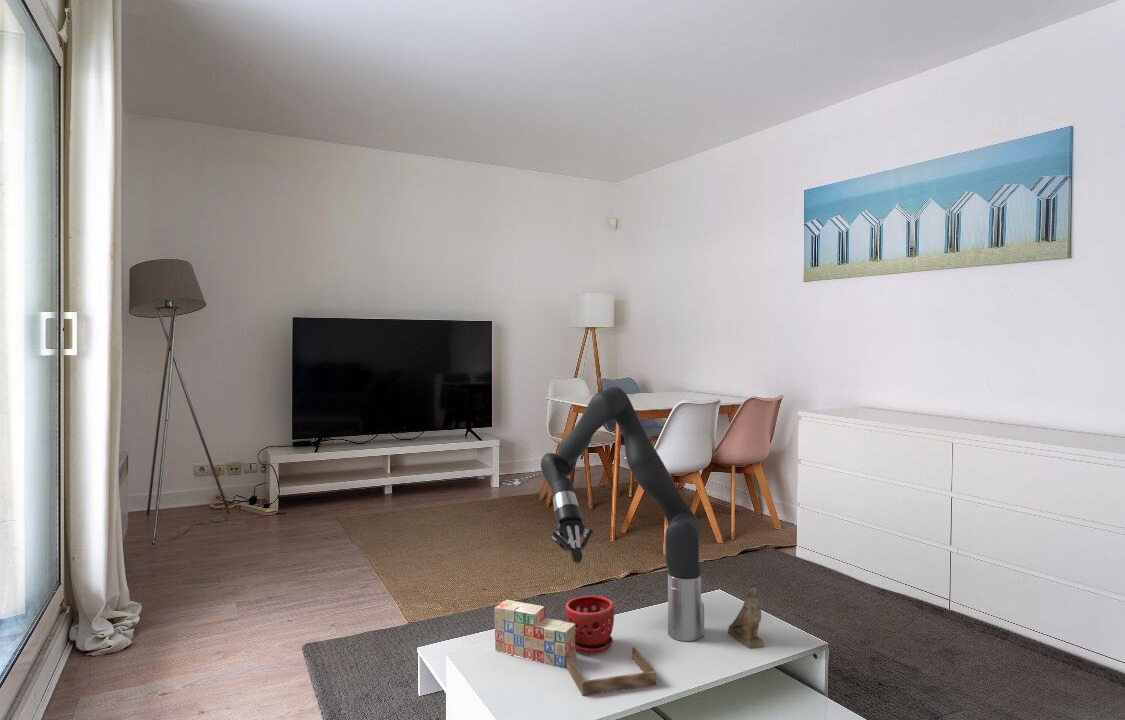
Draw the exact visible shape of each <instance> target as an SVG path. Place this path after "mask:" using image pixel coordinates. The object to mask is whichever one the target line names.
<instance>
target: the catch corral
mask: <svg viewBox="0 0 1125 720" xmlns="http://www.w3.org/2000/svg"><path fill="white" fill-rule="evenodd" d="M631 659H632V660H633V661H635V662H634V663H635V664H636V666H637V667H638V666H639V667H640V668H639V667H638V668H639V669H640V671H643V672H638V673H632V674H631V673H630V674H624V675H617V676H610V677H602V678H596V679H595V678H594V679H588V680H585V679H584V677H583V675H582V673H581V672H580V671H579V669H578V667H577V666H576V664H575V663H574V660H573V661H572V659H571V657H570V656H569V655H568V656H566V668H565V669H566V670H567V671H568V673H569V675H570V677H571V678H572V680H573V682H574V683H575V685H576V687H577V689H578V690H579V692H580V693H581V696H582V697H583V696H584V697H585V696H590V695H595V694H596V693H598V694H602V692H604V693H608V692H607V691H611V692H614V691H613V690H618V691H623V690H622V689H625V690H630V689H629V688H631V689H638V688H643V687H650V686H657V671H656V670H655V669H654V668H653V666H652V665H651V664H650V663H649V662H648V661H647V659H646V658H645V657H644V656H643V654H641V652H640V651H639V650H638V649H637V647H636V646H632V647H631ZM637 687H638V688H637Z"/></svg>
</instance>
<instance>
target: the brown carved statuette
mask: <svg viewBox="0 0 1125 720" xmlns="http://www.w3.org/2000/svg"><path fill="white" fill-rule="evenodd" d="M758 589H759V587H758V586H757V585H750V587H748V589H747V592H748V595H747V596H745V600H744V603H743V606H742V607H741V609H740V611H739V613H738V614H737V616H736V617H735V618H734V620H733V621H732V623H730V625H729V626H728V630H727V633H728V634H729V635H730V636H731V637H732V638H734V639H735V640H736V641H738V642H740V643H741V644H742V645H744V646H746V647H747V648H748V649H751V650H754V649H757V648H763V647H765V645H764V641H763V639H762V638H760V637H758V631H759V626H760V623H761V620H762V610H761V608H760V606H759V602H760V597H759V595H758Z"/></svg>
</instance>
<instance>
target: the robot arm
mask: <svg viewBox="0 0 1125 720" xmlns="http://www.w3.org/2000/svg"><path fill="white" fill-rule="evenodd" d="M613 421H615V422H616V425H617V427H618V428H619V430H620V432H621V433H622V437H623V441H624V449H625V458H626V462H627V466H628V468H629V469H630V471H631V473H632V475H633V477H634V479H635V480H636V481H637V483H638V484H639V486H640V488H641V489H642V490H643V491H644V492H645V493H646V494H647V495H648V496H649V497H650V498H651V499H652V500H653V501H654V502H655V504H657V506H658V508H659V509H660V510H661V512H662V514H663V515H664V518H665V519H666V522H667V524H668V525H667V528H666V531H665V538H664V541H665V542H664V543H665V562H666V567H667V634H668V636H669V637H671V638H672V639H674V640H677V641H681V642H693V641H697V640H699V639H701V638H704V637H705V604H704V601H702V567H701V563H700V556H699V555H700V553H699V549H700V548H699V547H700V546H699V543H700V542H701V540H702V537H703V527H702V524H701V523H700V521H699V520H698V518H697V516H696V515H695V514H694V513H693V511H692V509H691V508H690V507H689V506H688V504H687V502H686V501H685V499H684V498H683V496H682V495H681V493H680V491H679V490H678V488H677V485H676V484H675V482H674V480H673V478H672V476H671V474H670V473H669V471H668V470H667V467H666V466H665V464H664V462H663V461H662V460H663V459H661V457H660V455H659V453H658V452H657V450H656V449H655V447H654V445H653V444H652V442H651V439H650V438H649V436H648V434H647V433H646V431H645V429H644V428H643V425H642V424H641V421H640V419H639V417H638V415H637V413H636V411H635V409H634V406H633V403H632V402H631V400H630V397H629V396H628V395H627V393H626V392H625V391H624V390H623V389H622V388H621V387H617V386H611V387H609V388H606V389H604V390H602V391H598V392H597V393H596V394H594V395H593V396H592V397H591V399H590V401H589V402H588V404H587V406H586V408H585V410H584V411H583V413H582V415H581V417H580V419H578V422H577V423H576V425H575V426H574V427H573V429H572V430H571V431H570V432H569V433H568V435H566V437H565V439H564V440H563V441H562V442H560V444H559V446H558V453H553V452H548V453H546V454H544V455H543V456H542V457H541V461H540V469H541V473H542V475H543V477H544V479H545V481H546V482H547V485H548V486H549V488H550V490H551V491H550V492H551V495H552V500H553V501H552V502H553V511H554V515H555V520H556V526H557V527H556V531H554V532H553V533H552V535H551V537H550V538H551V541H554V543H555V544H557V545H558V546H559V547H560V549H562V550H563V551H565V552H566V551H569V552H570V556H571V561H572V562H574V564H580V563H581V562H582V561H583V554H582V550H585V548H586V546H587V544H588V543H589V542H590V539H591V537H592V535H593V533H594V531H593V529H587V528H586V526H585V523H583V519H582V515H581V511H580V510H581V509H580V506H579V502H578V499H577V495H576V492H575V489H574V484H573V481H572V479H570V478H569V476H570V475H572V473H573V472H574V470H575V466H576V464H577V462H578V460H579V457H581V456H582V454H583V453H584V452H585V451H586V450H587V449H588V447H589V446H590V443H591V442H592V439H593V436H594V435H595V433H596V432H597V431H598V430H600V428H601V427H603V426H604V425H606V424H607V423H610V422H613ZM583 533H584V534H583ZM582 536H584V539H583V541H581V537H582Z"/></svg>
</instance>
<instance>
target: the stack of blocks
mask: <svg viewBox="0 0 1125 720" xmlns="http://www.w3.org/2000/svg"><path fill="white" fill-rule="evenodd" d="M545 607H546V606H543V605H539V604H538V605H537V604H533V603H527V602H522V601H515V600H510V599H505V600H504V601H502V602H500V603H499V604H498V605H496V606H495V607H494V640H495V641H494V648H495V649H494V650H495V651H498V652H497V653H499V652H503V653H507V654H511V655H516V656H520V657H523V658H529V659H532V660H531V661H533V660H537V661H536V662H538V661H540V662H539V663H542V662H544V663H543V664H546V663H548V664H547V665H550V664H551V665H550V666H555V667H558V666H559V668H562V669H563V668H565V669H567V668H566V656H568V655H569V656H570V657H571V659H572V661H573V662H574V660H576V650H575V624H574V623H569V622H567V621H565V620H560V619H554V618H549V617H548V618H547V617H546V608H545ZM495 651H494V652H495ZM503 653H502V654H503ZM507 654H506V655H507ZM511 655H510V656H511ZM523 658H522V659H523ZM529 659H528V660H529Z"/></svg>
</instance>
